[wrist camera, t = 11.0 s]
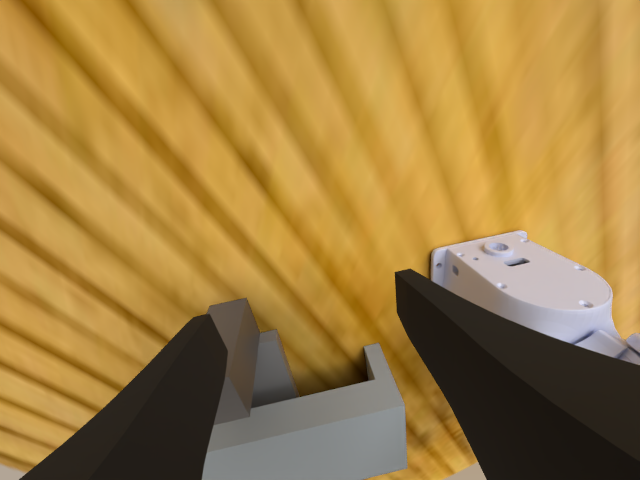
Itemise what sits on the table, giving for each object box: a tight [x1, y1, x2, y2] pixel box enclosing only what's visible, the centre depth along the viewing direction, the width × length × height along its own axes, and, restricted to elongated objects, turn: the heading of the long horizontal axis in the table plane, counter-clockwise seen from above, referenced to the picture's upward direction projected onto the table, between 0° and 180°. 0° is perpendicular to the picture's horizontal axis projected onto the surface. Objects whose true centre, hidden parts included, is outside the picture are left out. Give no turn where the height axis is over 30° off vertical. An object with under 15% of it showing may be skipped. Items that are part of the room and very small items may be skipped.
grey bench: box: [202, 343, 407, 480], centre depth 23 cm, size 10×24×6 cm, turn 100°
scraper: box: [207, 298, 300, 425], centre depth 22 cm, size 21×6×7 cm, turn 10°
